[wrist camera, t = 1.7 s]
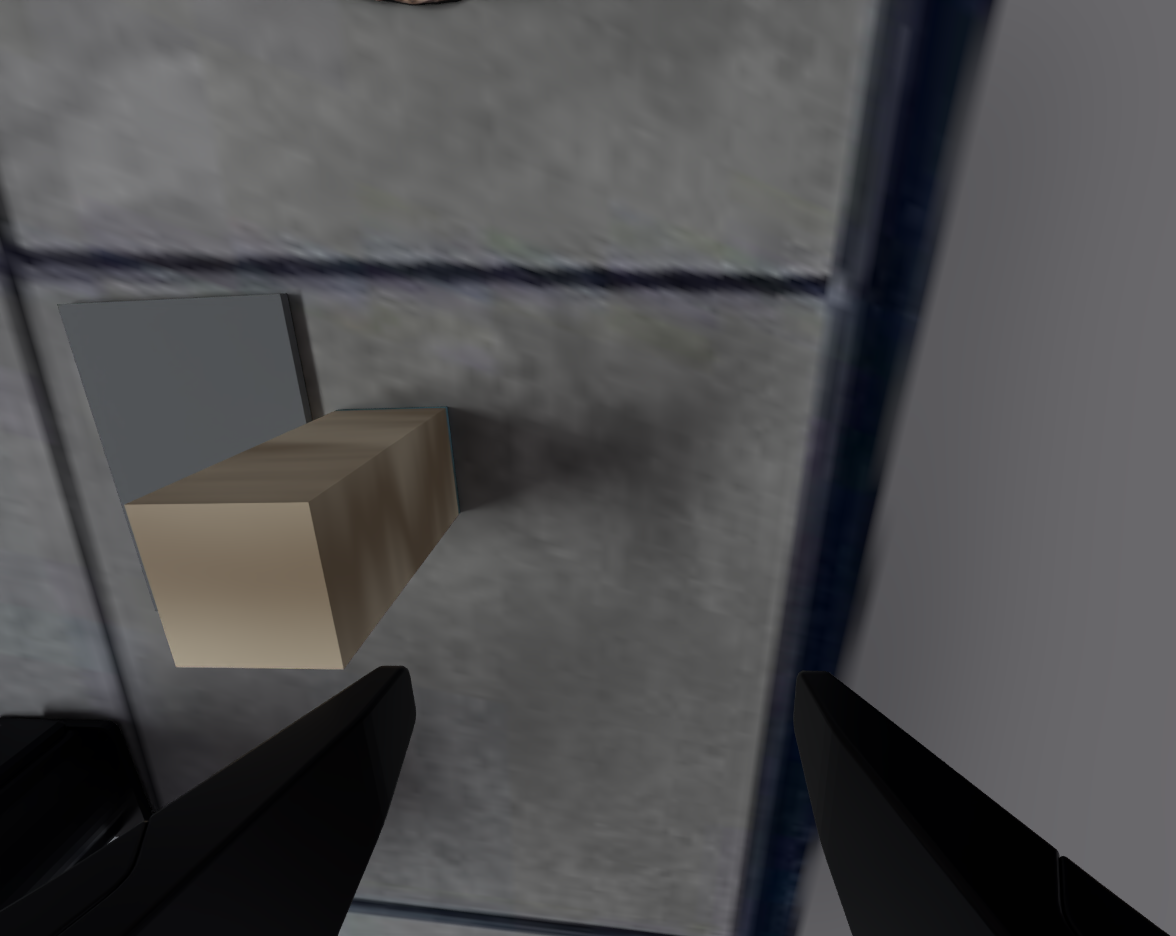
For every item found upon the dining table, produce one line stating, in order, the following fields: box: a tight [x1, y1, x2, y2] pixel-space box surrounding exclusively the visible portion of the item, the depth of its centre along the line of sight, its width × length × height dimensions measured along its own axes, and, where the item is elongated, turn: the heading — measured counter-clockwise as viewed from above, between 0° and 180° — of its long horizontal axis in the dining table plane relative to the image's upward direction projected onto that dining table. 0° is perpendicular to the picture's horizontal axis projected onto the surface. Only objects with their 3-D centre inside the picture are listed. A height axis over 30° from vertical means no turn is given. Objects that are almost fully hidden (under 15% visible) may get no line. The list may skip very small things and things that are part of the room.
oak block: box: [124, 407, 460, 669], centre depth 17 cm, size 4×4×9 cm
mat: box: [57, 294, 312, 611], centre depth 21 cm, size 12×8×1 cm, turn 2°
